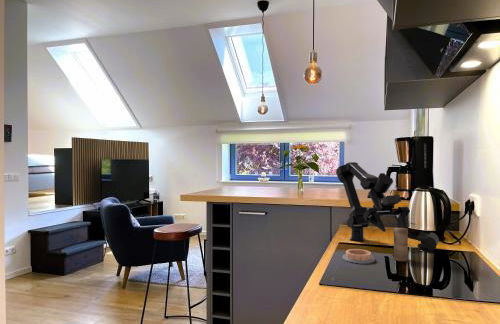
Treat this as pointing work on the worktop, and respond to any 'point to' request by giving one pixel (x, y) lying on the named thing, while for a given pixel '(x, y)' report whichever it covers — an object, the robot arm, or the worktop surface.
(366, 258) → the collar
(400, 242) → the walnut peg
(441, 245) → the worktop surface
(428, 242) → the end cap
